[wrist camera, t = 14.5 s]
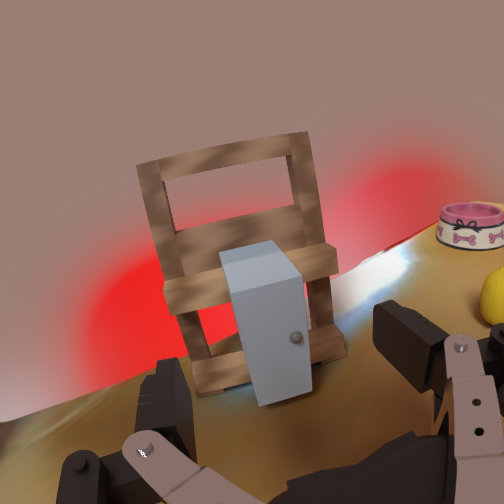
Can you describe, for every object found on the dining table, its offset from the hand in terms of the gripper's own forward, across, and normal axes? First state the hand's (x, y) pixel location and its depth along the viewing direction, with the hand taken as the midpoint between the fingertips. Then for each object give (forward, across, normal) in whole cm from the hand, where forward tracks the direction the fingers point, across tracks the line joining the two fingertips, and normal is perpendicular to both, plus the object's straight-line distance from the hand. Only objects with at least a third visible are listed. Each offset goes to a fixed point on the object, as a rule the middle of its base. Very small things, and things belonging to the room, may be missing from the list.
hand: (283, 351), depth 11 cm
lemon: (+9, -29, +15) cm, 34 cm away
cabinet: (+14, -2, +13) cm, 19 cm away
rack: (+19, -2, +15) cm, 24 cm away
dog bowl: (+35, -55, +15) cm, 66 cm away
